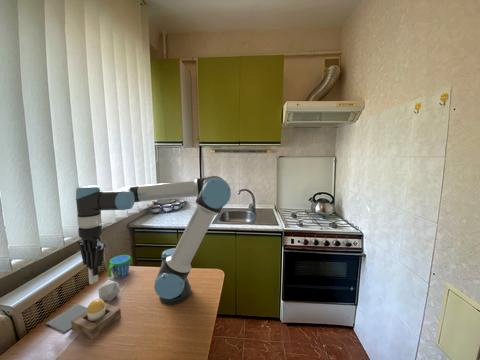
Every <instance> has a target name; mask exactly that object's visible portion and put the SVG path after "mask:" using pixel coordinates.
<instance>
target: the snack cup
mask: <svg viewBox="0 0 480 360" xmlns="http://www.w3.org/2000/svg"><path fill="white" fill-rule="evenodd" d="M108 263H109V266H108V267H107V277H108V278H112V276H113V278H115V279H116V280H117V279H124V278H126V277H127V276H128V275H129V271H130V265H132V264H133V257H132V256H131V255H128V254H121V255H116V256H114V257H112V258H111V259H110V260H109V261H108ZM111 272H112V273H111Z"/></svg>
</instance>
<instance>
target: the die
mask: <svg viewBox="0 0 480 360" xmlns="http://www.w3.org/2000/svg"><path fill="white" fill-rule="evenodd" d="M97 291H98V299H102V300H103V301H107V302H112V301H113V300H114V298H115V297H116V296H117V295H118V294H119V293H120V292H121V288H120V282H117V281H115V280H111V279H107V280H106V281H105V282H104V283H103V284H102V285H101V286H100V287H99V288H98V290H97Z"/></svg>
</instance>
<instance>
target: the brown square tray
mask: <svg viewBox="0 0 480 360" xmlns="http://www.w3.org/2000/svg"><path fill="white" fill-rule="evenodd" d="M121 311H122V310H121V308H120V307H117V306H115V305H112V304H109V303H106V302H105V312H106V315H105V316H103V317H102V318H101V319H99V320H98V321H96V322H95V323H92V322H90V321H88V314H87V311H86V312H84V313H83V314H81V315H80V316H78V317H76V318H75V319H73V320H72V321H71V325H72V329H71V331H73V332H75V333H77V334H79V335H82V336H83V337H85V338H87V339H90V340H92V341H93V340H94V339H96V338H97V337H99V336H100V334H102V333H103V332H105V331H106V330H108V328H110V326H112V325H113V324H114V323H115V322H117V321H118V320H119V319H121V318H122V313H121Z"/></svg>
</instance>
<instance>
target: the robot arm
mask: <svg viewBox="0 0 480 360" xmlns="http://www.w3.org/2000/svg"><path fill="white" fill-rule="evenodd" d="M231 195H232V192H231V186H230V185H229V183H228V182H227V181H226V180H225V179H223V178H222V177H221V176H218V175H212V176H207V177H200V178H196V179H195V180H191V181H189V180H188V181H180V182H179V181H178V182H167V183H165V182H163V183H156V184H155V183H153V184H152V183H151V184H144V185H143V184H142V185H127V186H123V187H121V188H119V189H117V190H108V191H105V190H101V189H100V187H99V185H84V186H78V187H77V188H76V190H75V203H76V210H77V211H76V215H77V217H76V218H77V227H78V228H77V230H78V238H81V240H78V241H77V244H78V246H79V249H80V255H81V260H82V263H83V265H84V266H86V268H87V272H88V273H87V274H88V284H90V285H94V284H96V283H98V282H99V267H100V266H102V265H103V260H104V251H105V248H106V246H107V245H106V243H102V241H101V237H100V236H101V235H102V233H103V225H102V211H125V210H132V209H133V207H134V205H135V203H141V202H153V201H161V200H173V199H181V198H182V199H183V198H193V197H194V198H196V200H195V205H196V208H195V209H194V211H193V213H192V215H191V217H190V219H189V221H188V223H187V225H186V227H185V229H184V231H183V233H182V235H181V236H180V239H179V240H178V243H177V245H176V247H172V248H169V249H165V250H164V251H162V252H161V266H160V268H159V270H158V273H157V276H156V278H155V280H154V291H155V293H156V294H157V296H159V301H160V302H161V303H163V304H166V305H177V304H181V303H183V302H185V301H186V300H187V299H189V297H190V296H191V294H192V288H191V284H190V282H189V279H188V276H189V274H190V273H191V272H190V271H191V270H192V265H191V262H192V260H193V258H194V256H195V255H196V252H197V251H198V250H199V249H198V248H199V247H200V244H201V243H202V241H203V239H204V238H205V235H206V233H207V232H208V229H209V227H210V225H211V223H212V222H213V219H214V218H215V216H217V215H219V214H220V215H221V212H222V210H223V207H225V206H226V205H228V203H229V201H230V199H231Z"/></svg>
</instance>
